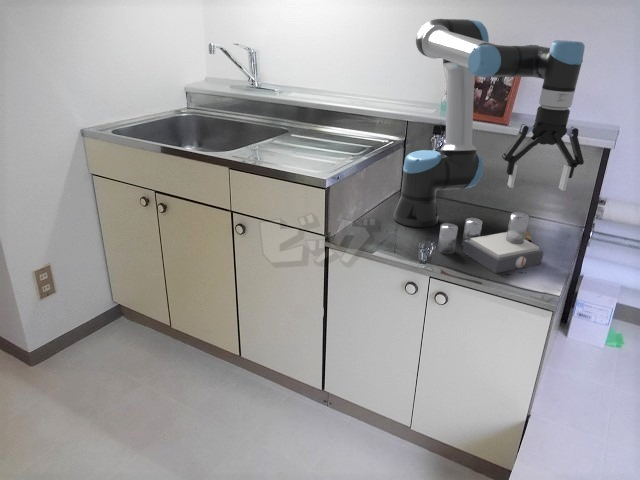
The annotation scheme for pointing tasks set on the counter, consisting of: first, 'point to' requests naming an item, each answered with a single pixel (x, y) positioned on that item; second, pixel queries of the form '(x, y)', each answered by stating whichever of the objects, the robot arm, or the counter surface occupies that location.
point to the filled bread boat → (528, 236)
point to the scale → (502, 252)
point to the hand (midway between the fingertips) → (535, 188)
